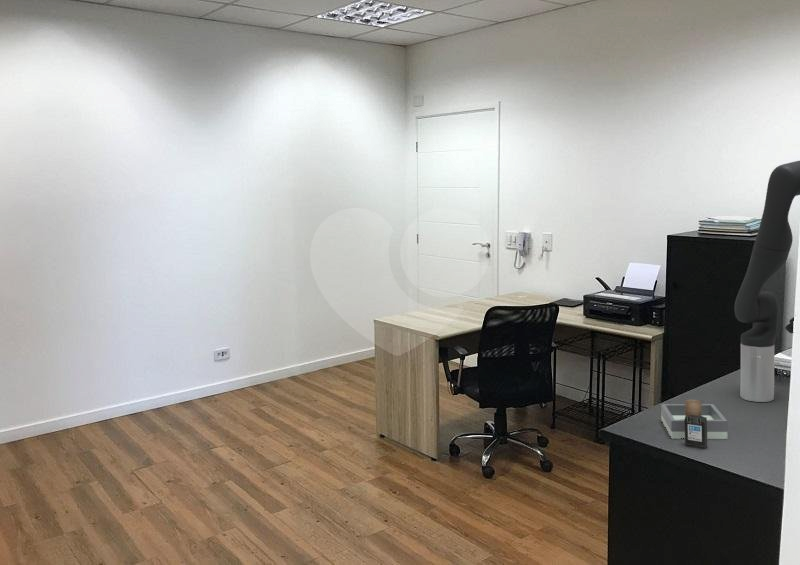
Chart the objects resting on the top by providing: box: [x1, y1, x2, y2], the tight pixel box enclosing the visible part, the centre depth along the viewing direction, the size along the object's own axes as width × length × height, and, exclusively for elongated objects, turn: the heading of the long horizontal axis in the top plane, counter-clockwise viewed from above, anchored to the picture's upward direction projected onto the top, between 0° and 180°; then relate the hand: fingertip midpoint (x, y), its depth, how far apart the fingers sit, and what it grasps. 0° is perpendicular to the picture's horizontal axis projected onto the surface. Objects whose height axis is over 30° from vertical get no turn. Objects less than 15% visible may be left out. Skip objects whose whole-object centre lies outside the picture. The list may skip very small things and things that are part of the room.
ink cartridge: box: [684, 415, 708, 450], centre depth 174 cm, size 5×2×8 cm, turn 51°
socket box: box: [660, 403, 728, 440], centre depth 186 cm, size 14×14×5 cm
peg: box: [684, 399, 702, 417], centre depth 185 cm, size 4×4×8 cm
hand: (789, 327), depth 176 cm, fingers open, 8 cm apart
